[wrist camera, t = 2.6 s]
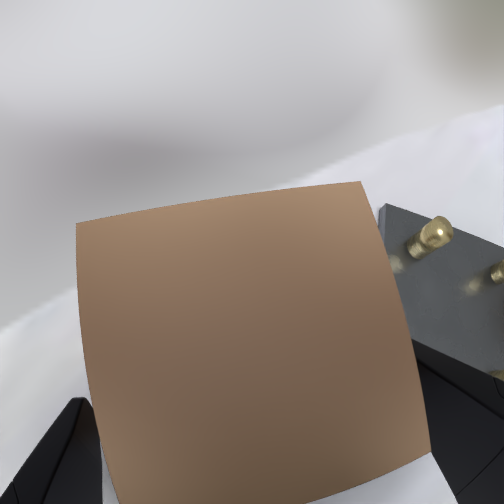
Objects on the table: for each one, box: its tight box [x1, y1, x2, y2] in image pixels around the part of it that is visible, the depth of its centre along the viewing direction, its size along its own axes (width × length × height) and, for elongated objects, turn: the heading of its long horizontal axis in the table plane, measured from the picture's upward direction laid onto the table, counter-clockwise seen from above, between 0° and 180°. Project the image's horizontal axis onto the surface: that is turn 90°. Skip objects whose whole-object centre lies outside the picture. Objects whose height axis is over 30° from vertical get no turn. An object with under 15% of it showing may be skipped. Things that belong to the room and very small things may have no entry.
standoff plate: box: [379, 203, 504, 381], centre depth 17 cm, size 13×13×4 cm
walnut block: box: [76, 181, 431, 504], centre depth 10 cm, size 5×5×13 cm
